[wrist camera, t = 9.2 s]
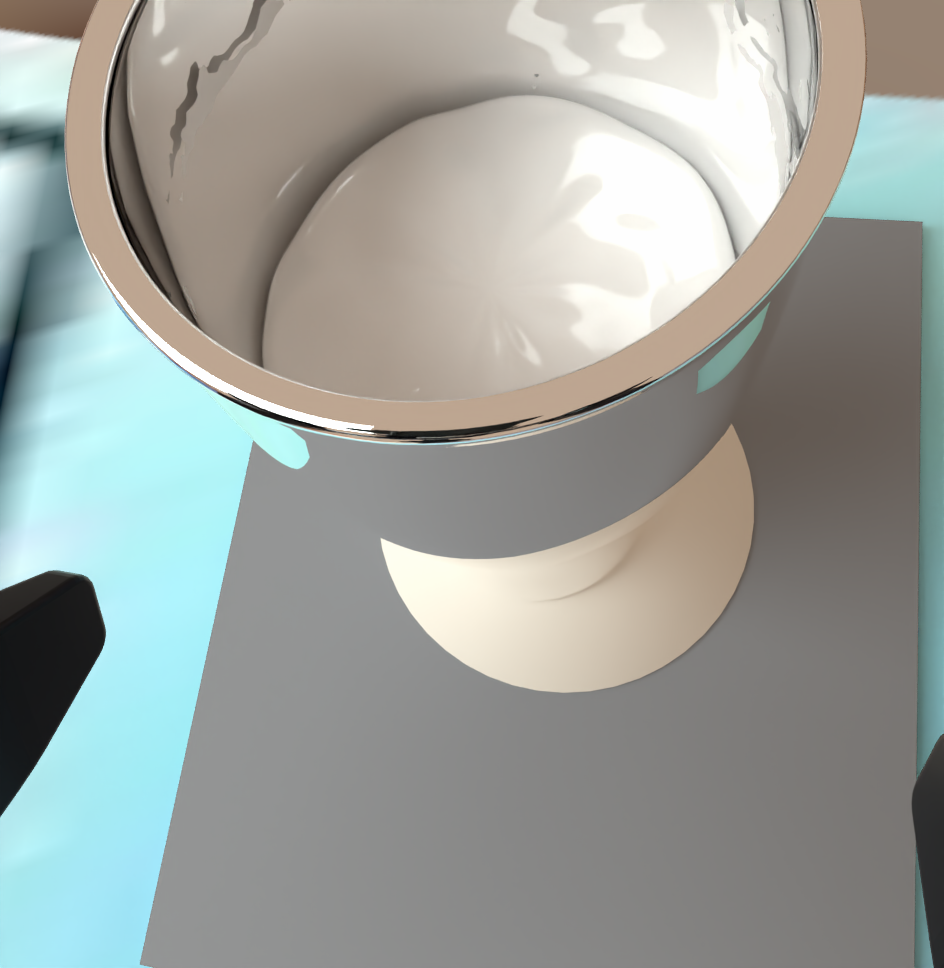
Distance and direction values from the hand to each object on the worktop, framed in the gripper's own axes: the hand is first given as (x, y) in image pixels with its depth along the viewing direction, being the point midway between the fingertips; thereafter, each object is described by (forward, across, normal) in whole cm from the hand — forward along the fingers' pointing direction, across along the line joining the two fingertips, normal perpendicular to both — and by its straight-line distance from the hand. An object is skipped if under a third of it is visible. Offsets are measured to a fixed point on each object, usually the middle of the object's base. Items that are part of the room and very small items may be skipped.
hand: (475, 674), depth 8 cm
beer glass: (+12, +1, +5) cm, 13 cm away
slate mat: (+11, 0, +7) cm, 13 cm away
